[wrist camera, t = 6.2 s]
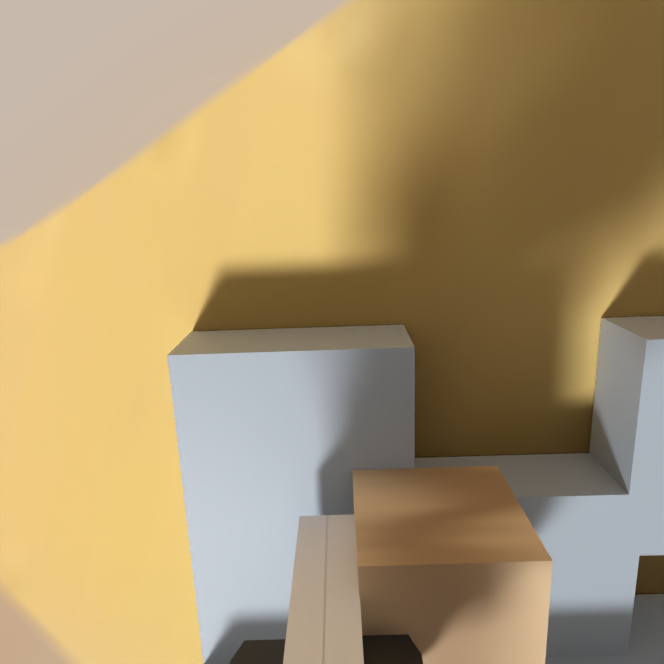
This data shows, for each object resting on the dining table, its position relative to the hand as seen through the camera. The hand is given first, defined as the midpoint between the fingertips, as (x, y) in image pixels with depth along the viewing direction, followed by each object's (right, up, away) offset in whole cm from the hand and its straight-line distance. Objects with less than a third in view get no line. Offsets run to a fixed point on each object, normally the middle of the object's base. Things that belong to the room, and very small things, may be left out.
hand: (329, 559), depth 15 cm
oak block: (+3, 0, +1) cm, 3 cm away
